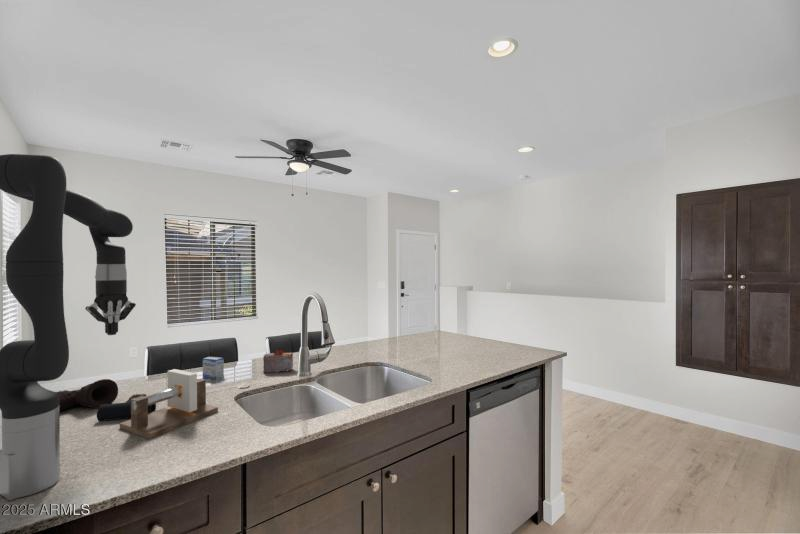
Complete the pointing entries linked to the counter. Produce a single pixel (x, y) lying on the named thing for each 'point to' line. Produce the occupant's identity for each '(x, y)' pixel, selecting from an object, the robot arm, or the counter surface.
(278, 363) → the food item
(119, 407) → the pipe connector
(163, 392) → the steel pipe
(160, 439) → the counter surface
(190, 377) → the white flat block
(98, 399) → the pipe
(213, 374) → the medicine box
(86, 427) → the counter surface
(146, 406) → the pipe stand
